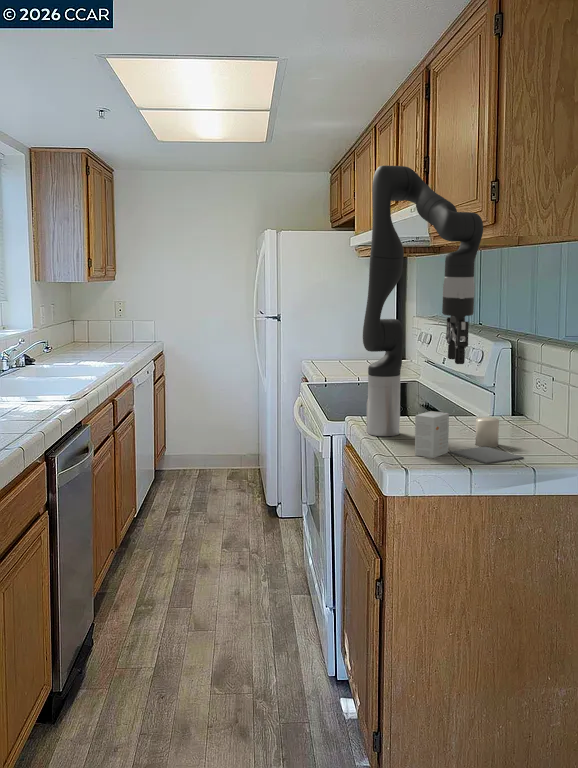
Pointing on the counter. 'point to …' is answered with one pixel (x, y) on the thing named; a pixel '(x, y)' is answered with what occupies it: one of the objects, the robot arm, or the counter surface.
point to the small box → (431, 434)
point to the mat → (486, 455)
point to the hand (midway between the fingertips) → (455, 361)
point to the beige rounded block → (487, 432)
